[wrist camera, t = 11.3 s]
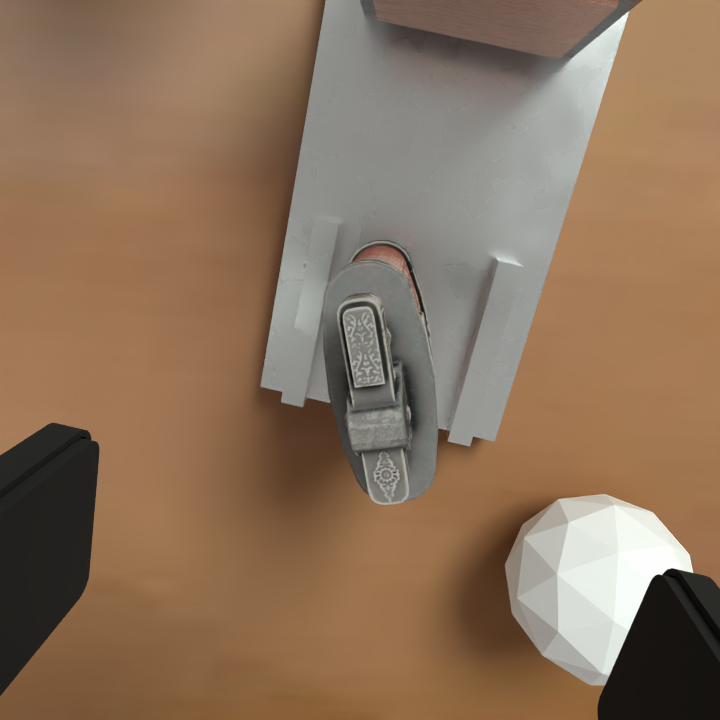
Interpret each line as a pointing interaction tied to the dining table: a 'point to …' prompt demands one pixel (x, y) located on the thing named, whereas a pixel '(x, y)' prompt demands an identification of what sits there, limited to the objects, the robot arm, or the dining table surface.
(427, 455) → the lighter
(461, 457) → the dining table surface
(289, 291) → the finger rail
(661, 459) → the dining table surface
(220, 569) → the dining table surface
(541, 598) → the geometric ball
